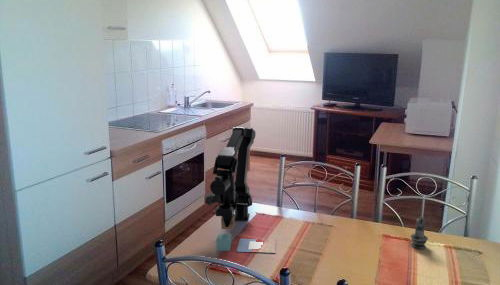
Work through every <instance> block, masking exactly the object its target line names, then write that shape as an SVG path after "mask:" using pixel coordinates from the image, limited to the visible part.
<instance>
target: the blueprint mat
mask: <svg viewBox="0 0 500 285" xmlns="http://www.w3.org/2000/svg"><path fill="white" fill-rule="evenodd" d="M257 239H258V238H239V242H238V245H237V247H236V253H244V252H251V251H253V250H254V249H259V248H261V245H263V242H256V240H257ZM252 249H253V250H252Z"/></svg>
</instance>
